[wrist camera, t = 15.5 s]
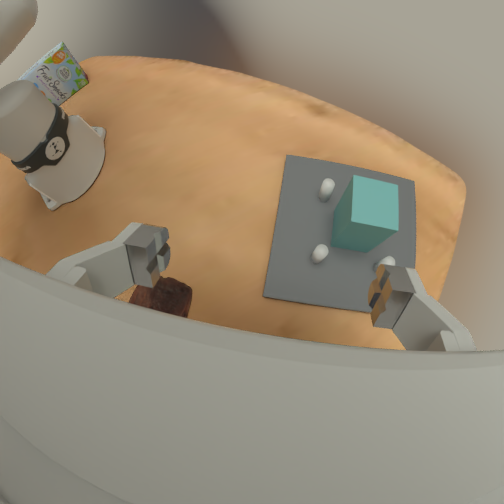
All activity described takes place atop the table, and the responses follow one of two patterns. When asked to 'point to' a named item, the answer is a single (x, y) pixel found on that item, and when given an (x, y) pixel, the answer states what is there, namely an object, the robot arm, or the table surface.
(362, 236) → the teal post
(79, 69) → the snack box
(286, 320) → the table surface
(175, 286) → the wooden tablet
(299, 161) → the peg board
